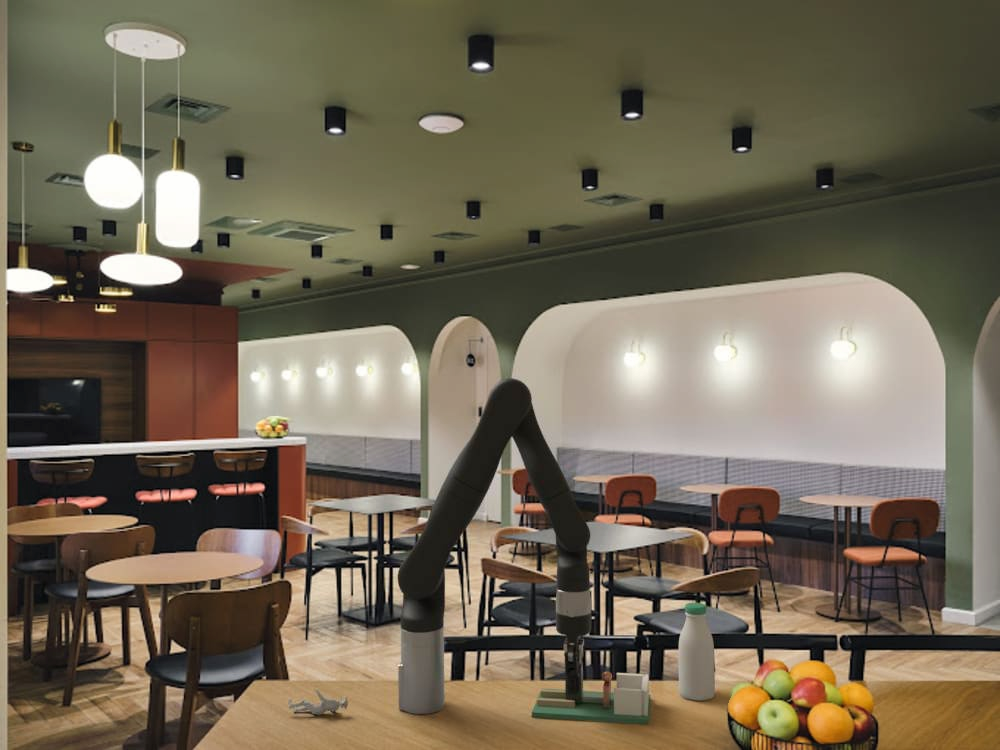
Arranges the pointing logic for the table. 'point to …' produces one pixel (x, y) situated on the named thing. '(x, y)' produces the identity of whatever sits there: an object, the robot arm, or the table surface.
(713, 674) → the milk bottle
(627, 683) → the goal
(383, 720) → the table surface
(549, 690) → the pitch
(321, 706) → the soldier figure
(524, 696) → the table surface
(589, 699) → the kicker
